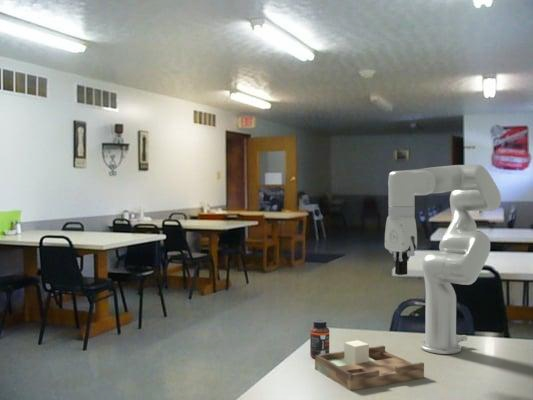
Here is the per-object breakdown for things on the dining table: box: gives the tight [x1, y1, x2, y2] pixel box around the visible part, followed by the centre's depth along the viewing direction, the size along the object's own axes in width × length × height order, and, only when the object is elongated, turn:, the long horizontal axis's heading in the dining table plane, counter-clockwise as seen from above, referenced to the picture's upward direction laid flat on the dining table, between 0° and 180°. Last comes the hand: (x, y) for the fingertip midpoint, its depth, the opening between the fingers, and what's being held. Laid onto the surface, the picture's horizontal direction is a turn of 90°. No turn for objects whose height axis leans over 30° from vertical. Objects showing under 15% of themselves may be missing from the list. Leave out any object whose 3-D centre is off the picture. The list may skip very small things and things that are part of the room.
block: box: [343, 340, 370, 364], centre depth 163 cm, size 5×5×5 cm
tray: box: [314, 345, 425, 392], centre depth 159 cm, size 24×19×4 cm
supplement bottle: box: [309, 319, 330, 359], centre depth 174 cm, size 6×6×11 cm
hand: (401, 274), depth 166 cm, fingers closed
